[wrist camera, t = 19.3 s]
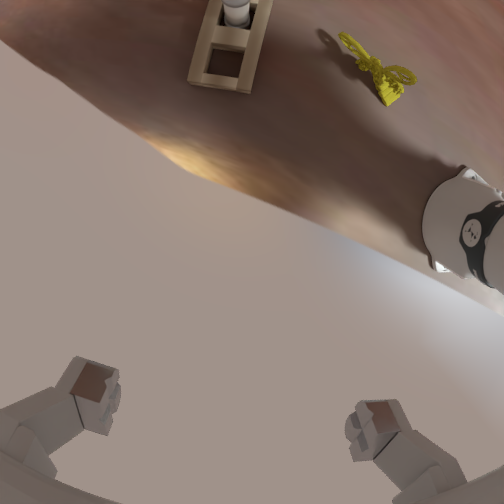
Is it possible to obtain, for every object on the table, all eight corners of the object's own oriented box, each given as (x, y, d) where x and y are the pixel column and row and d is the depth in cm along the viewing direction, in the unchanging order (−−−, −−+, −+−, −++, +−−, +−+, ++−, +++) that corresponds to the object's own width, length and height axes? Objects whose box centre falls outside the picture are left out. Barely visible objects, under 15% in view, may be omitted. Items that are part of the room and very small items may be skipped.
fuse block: (271, 7, 31) (273, -1, 28) (250, 94, 36) (250, 90, 33) (214, -2, 30) (212, -10, 27) (190, 84, 35) (186, 80, 32)
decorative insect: (348, 80, 39) (333, 33, 30) (362, 70, 39) (350, 23, 30) (410, 128, 34) (411, 80, 25) (425, 116, 33) (428, 67, 24)
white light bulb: (252, 14, 31) (255, -19, 22) (247, 33, 32) (248, 4, 23) (227, 10, 31) (223, -23, 22) (222, 30, 32) (216, 0, 23)
